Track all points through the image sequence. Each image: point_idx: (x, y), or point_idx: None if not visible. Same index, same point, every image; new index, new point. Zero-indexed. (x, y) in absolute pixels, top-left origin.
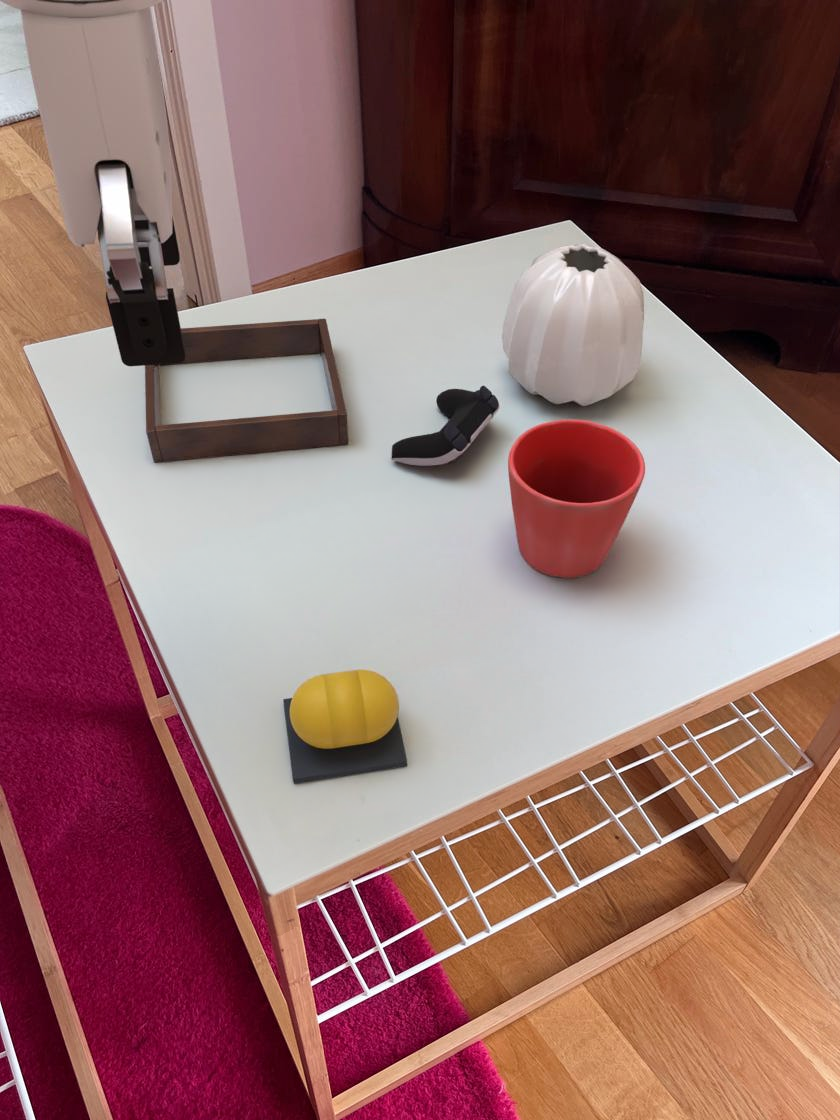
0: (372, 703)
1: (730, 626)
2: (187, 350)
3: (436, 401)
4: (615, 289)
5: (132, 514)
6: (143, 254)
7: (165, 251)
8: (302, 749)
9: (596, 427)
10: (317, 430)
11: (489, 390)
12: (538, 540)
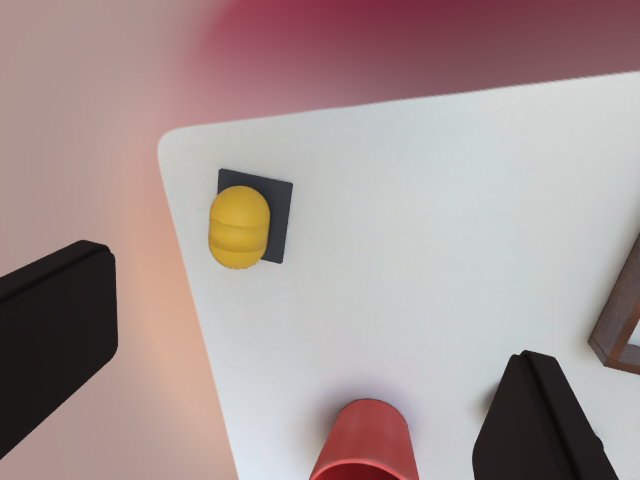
0: (212, 251)
1: (266, 469)
2: None
3: (599, 438)
4: None
5: (598, 104)
6: (503, 417)
7: (482, 468)
8: (241, 184)
9: None
10: (609, 328)
11: None
12: (344, 424)
